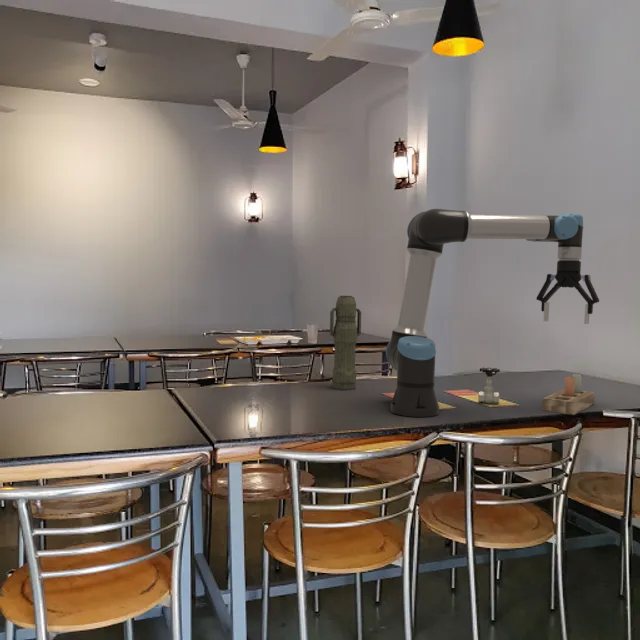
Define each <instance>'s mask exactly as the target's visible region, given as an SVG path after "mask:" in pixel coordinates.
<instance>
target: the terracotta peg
mask: <svg viewBox="0 0 640 640" xmlns="http://www.w3.org/2000/svg"><path fill="white" fill-rule="evenodd" d="M564 378H565V379H564V389H565V396H570V397H574V388H575V378H574V377H572V376H565V377H564Z"/></svg>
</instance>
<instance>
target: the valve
mask: <svg viewBox="0 0 640 640" xmlns="http://www.w3.org/2000/svg"><path fill="white" fill-rule="evenodd" d="M479 372H482V373H485V375H486V377H487V379H485V380H486V382H485V383H486V385H485V386H484V388H483V389H484V391H479V392H478V403H479V402H483V403H484V404H487V403H491V404H494V403H498V404H499V403H500V393H499V392H493V391H494V387H493V385H492V384H493V379H492V377H493V376H495V375H497V374H498V373H500V372H501V371H500V368H497V367H493V368H492V367H487V368H486V367H482V368H481V367H480V368H479Z"/></svg>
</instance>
